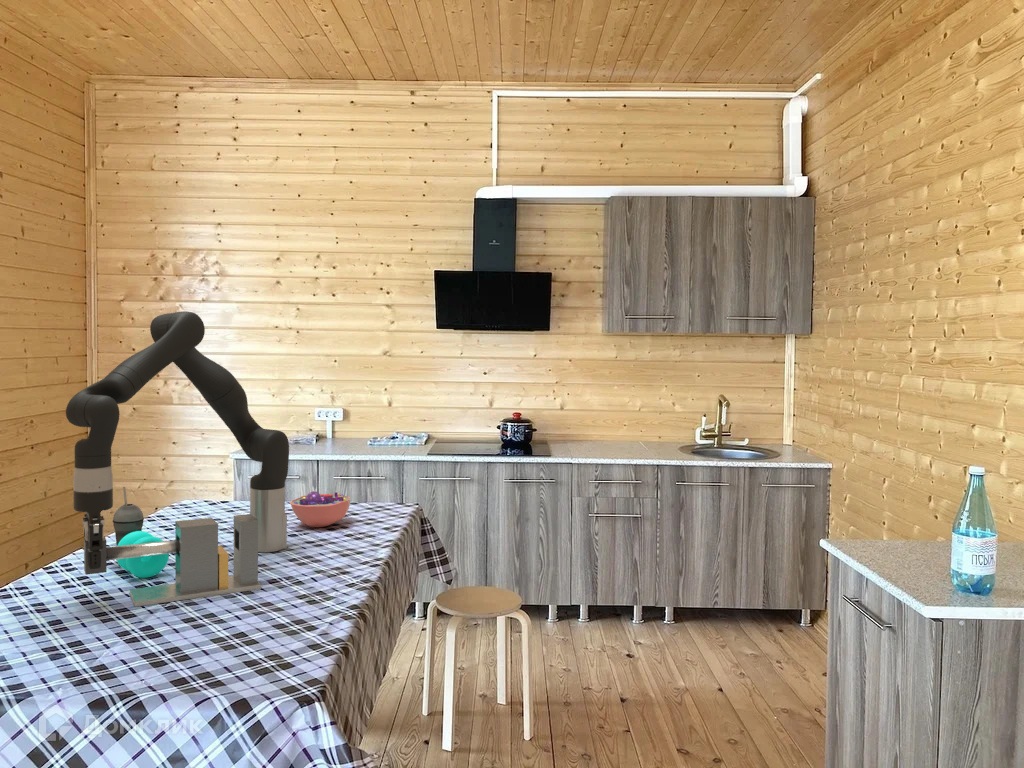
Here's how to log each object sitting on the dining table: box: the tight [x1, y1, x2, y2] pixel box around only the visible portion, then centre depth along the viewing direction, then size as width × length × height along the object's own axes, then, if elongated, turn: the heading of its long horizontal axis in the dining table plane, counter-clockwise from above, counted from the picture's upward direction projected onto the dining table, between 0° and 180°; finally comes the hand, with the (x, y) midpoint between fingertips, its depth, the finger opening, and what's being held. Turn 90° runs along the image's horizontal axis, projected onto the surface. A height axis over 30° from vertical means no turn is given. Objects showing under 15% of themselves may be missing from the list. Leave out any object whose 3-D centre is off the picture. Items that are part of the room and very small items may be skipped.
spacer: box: [218, 545, 229, 589], centre depth 187 cm, size 2×8×8 cm, turn 32°
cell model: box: [289, 490, 351, 528], centre depth 250 cm, size 17×20×11 cm
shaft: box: [83, 535, 180, 576], centre depth 178 cm, size 26×4×7 cm, turn 122°
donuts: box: [115, 530, 170, 579], centre depth 196 cm, size 10×10×10 cm
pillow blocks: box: [128, 513, 263, 608], centre depth 184 cm, size 27×10×16 cm, turn 122°
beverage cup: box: [112, 486, 145, 568], centre depth 203 cm, size 7×7×20 cm
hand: (93, 564), depth 173 cm, fingers open, 5 cm apart
